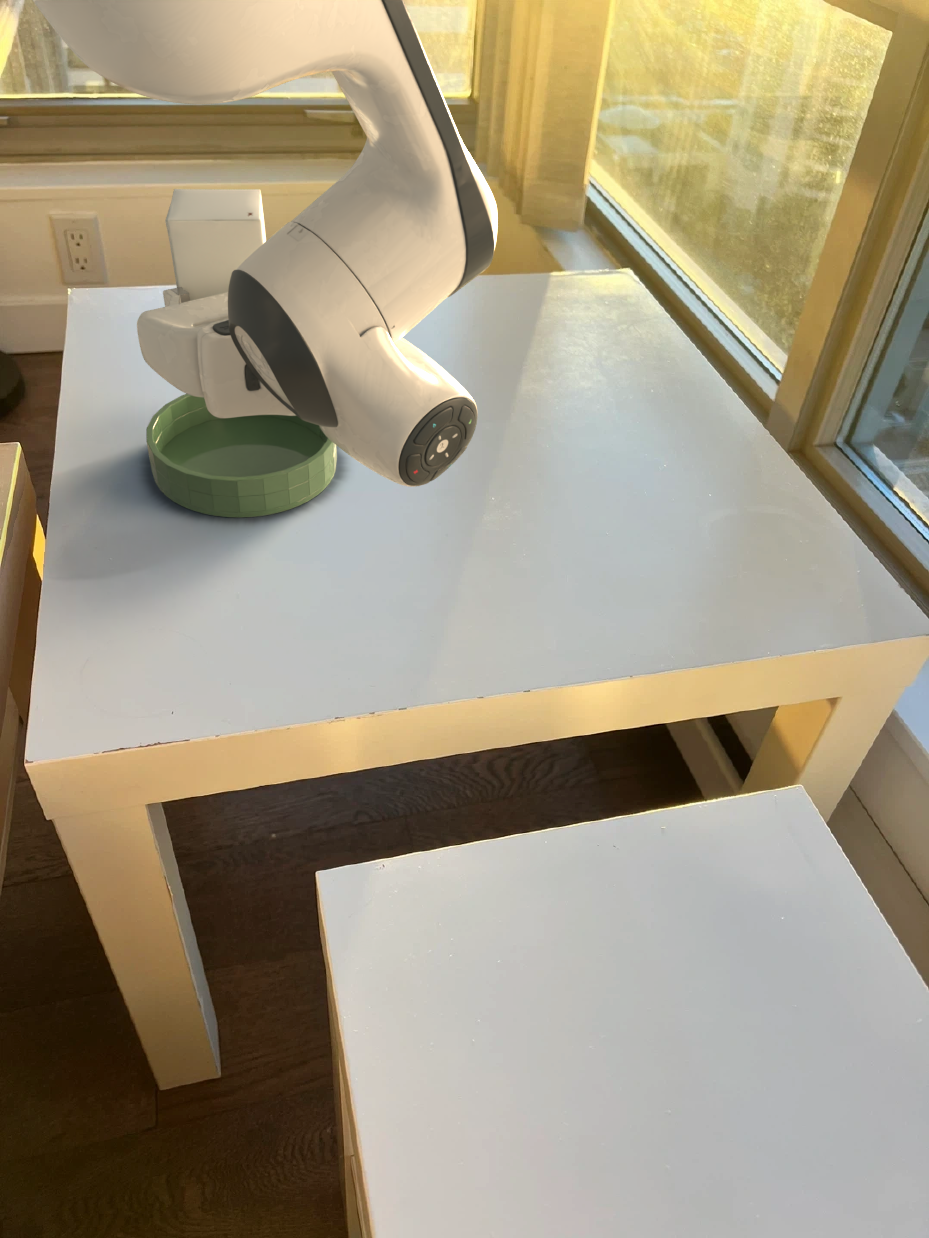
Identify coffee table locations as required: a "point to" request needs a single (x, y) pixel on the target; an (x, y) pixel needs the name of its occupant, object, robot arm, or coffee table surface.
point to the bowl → (237, 460)
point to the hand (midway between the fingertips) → (224, 285)
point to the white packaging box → (212, 236)
